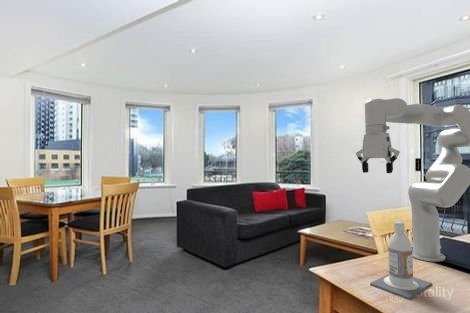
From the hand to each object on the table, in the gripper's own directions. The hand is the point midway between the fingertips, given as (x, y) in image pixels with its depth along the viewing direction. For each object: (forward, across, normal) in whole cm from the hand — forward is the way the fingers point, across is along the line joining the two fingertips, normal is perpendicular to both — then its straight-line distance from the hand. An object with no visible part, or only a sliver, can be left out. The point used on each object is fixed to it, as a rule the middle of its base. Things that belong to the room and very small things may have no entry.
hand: (377, 172), depth 111 cm
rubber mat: (+36, -14, +13) cm, 41 cm away
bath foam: (+36, -14, +13) cm, 40 cm away
